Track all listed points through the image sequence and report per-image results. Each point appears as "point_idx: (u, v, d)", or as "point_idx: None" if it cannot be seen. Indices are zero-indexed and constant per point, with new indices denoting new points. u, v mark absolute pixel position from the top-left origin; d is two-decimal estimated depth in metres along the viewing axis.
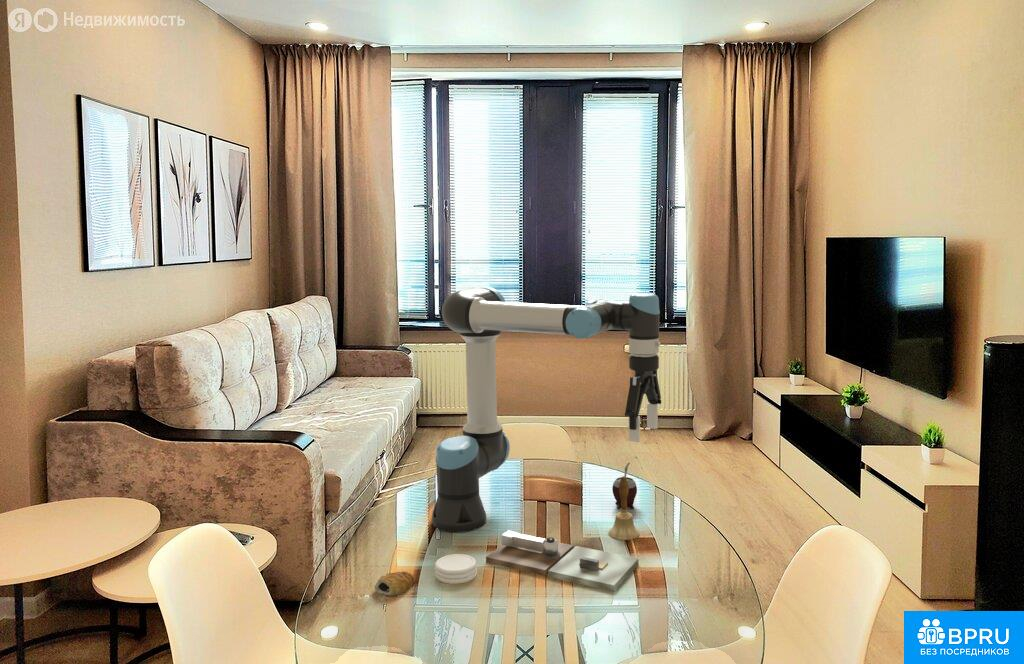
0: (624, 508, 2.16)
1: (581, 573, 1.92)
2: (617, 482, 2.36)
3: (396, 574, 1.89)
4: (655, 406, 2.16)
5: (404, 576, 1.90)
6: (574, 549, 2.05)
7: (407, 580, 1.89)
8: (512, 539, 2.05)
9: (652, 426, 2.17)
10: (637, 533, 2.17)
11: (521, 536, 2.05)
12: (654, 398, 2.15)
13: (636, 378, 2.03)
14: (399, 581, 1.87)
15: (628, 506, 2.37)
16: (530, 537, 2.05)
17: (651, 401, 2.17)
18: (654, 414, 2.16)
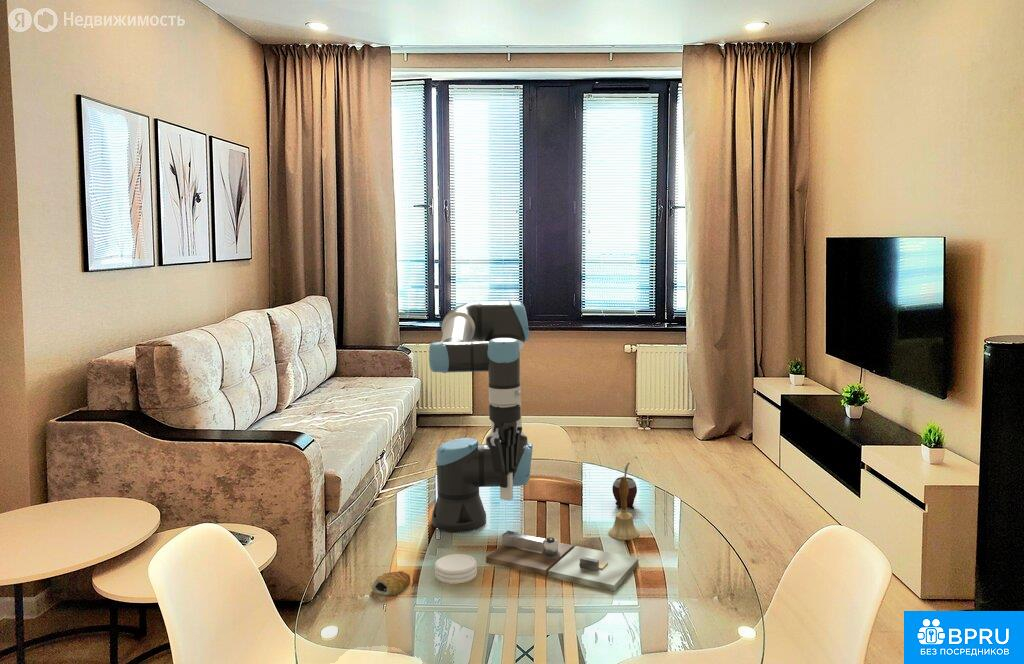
0: (624, 508, 2.16)
1: (581, 573, 1.92)
2: (617, 482, 2.36)
3: (393, 574, 1.90)
4: None
5: (401, 576, 1.90)
6: (574, 549, 2.05)
7: (404, 580, 1.89)
8: (512, 539, 2.05)
9: None
10: (637, 533, 2.17)
11: (521, 536, 2.05)
12: (510, 461, 1.96)
13: (493, 441, 1.89)
14: (396, 581, 1.87)
15: (628, 506, 2.37)
16: (530, 537, 2.05)
17: None
18: None
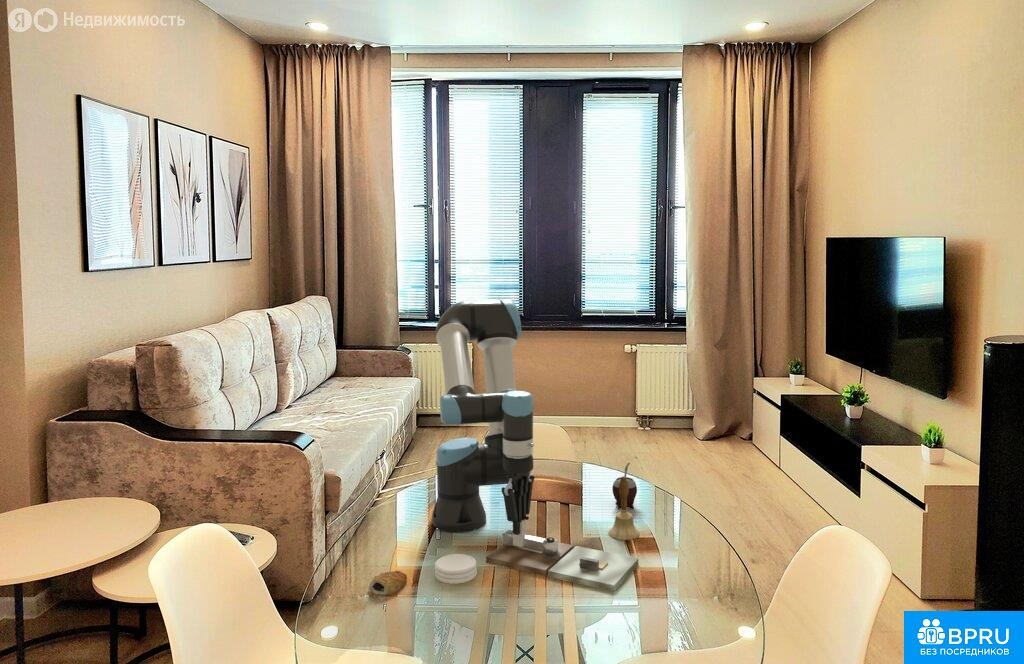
0: (624, 508, 2.16)
1: (581, 573, 1.92)
2: (617, 482, 2.36)
3: (390, 573, 1.90)
4: None
5: (398, 575, 1.90)
6: (574, 549, 2.05)
7: (401, 579, 1.89)
8: (512, 539, 2.06)
9: None
10: (637, 533, 2.17)
11: None
12: (522, 509, 2.03)
13: (507, 491, 1.97)
14: (393, 580, 1.88)
15: (628, 506, 2.37)
16: (530, 537, 2.05)
17: None
18: None
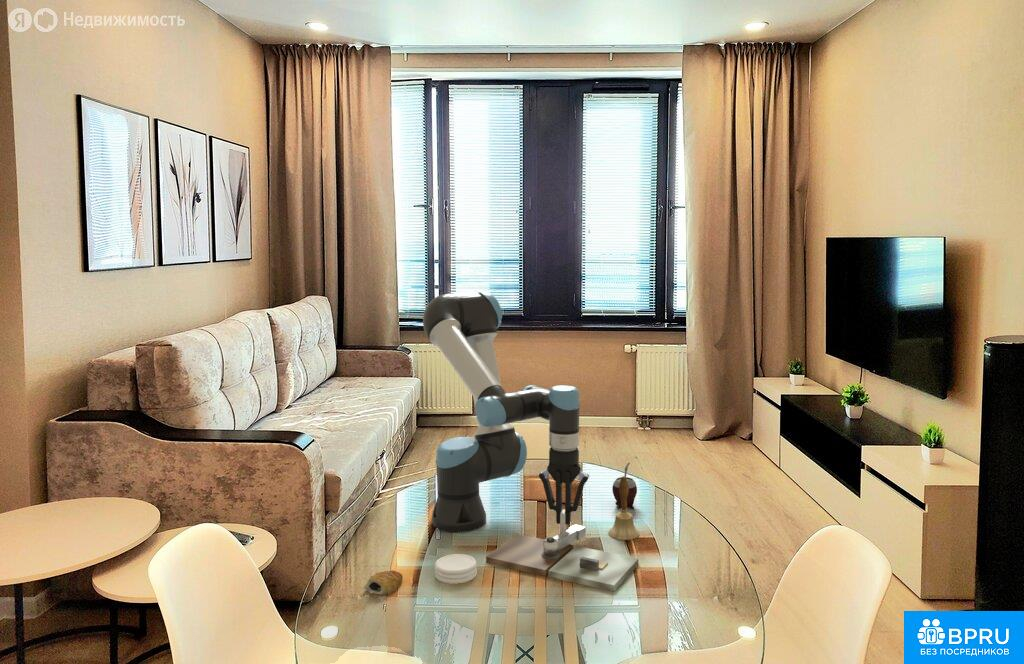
0: (624, 508, 2.16)
1: (581, 573, 1.92)
2: (617, 482, 2.36)
3: (386, 573, 1.90)
4: None
5: (394, 575, 1.91)
6: (574, 549, 2.05)
7: (397, 579, 1.90)
8: None
9: None
10: (637, 533, 2.17)
11: (569, 531, 2.08)
12: None
13: None
14: (390, 580, 1.88)
15: (628, 506, 2.37)
16: (564, 534, 2.06)
17: None
18: None
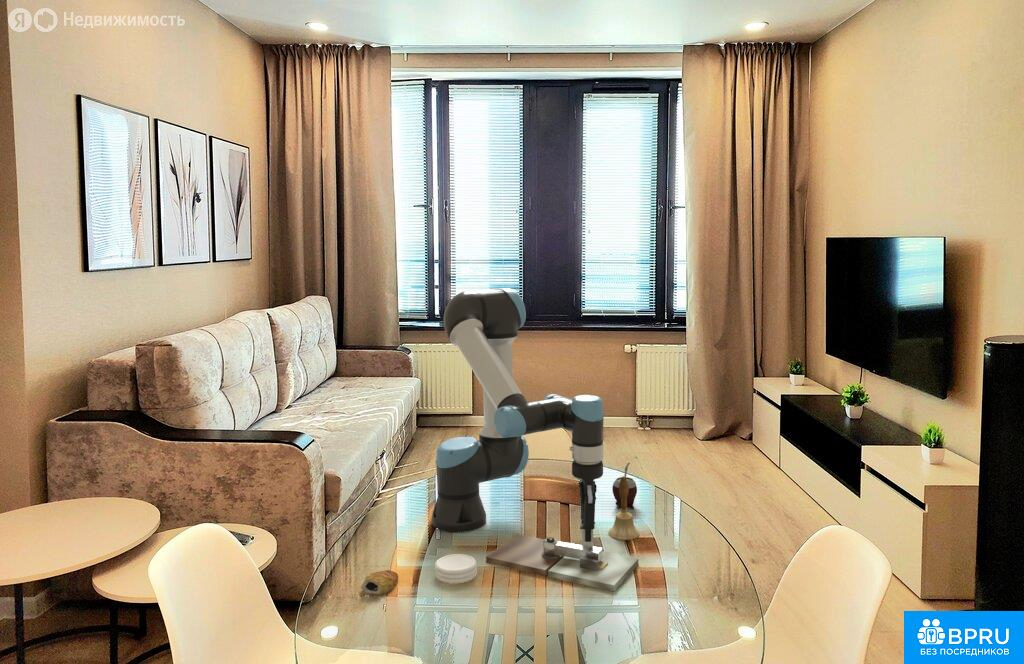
0: (624, 508, 2.16)
1: (581, 573, 1.92)
2: (617, 482, 2.36)
3: (382, 573, 1.90)
4: None
5: (390, 574, 1.91)
6: None
7: (394, 578, 1.90)
8: None
9: None
10: (637, 533, 2.17)
11: (582, 547, 1.98)
12: None
13: None
14: (386, 579, 1.88)
15: (628, 506, 2.37)
16: (571, 546, 1.99)
17: None
18: None
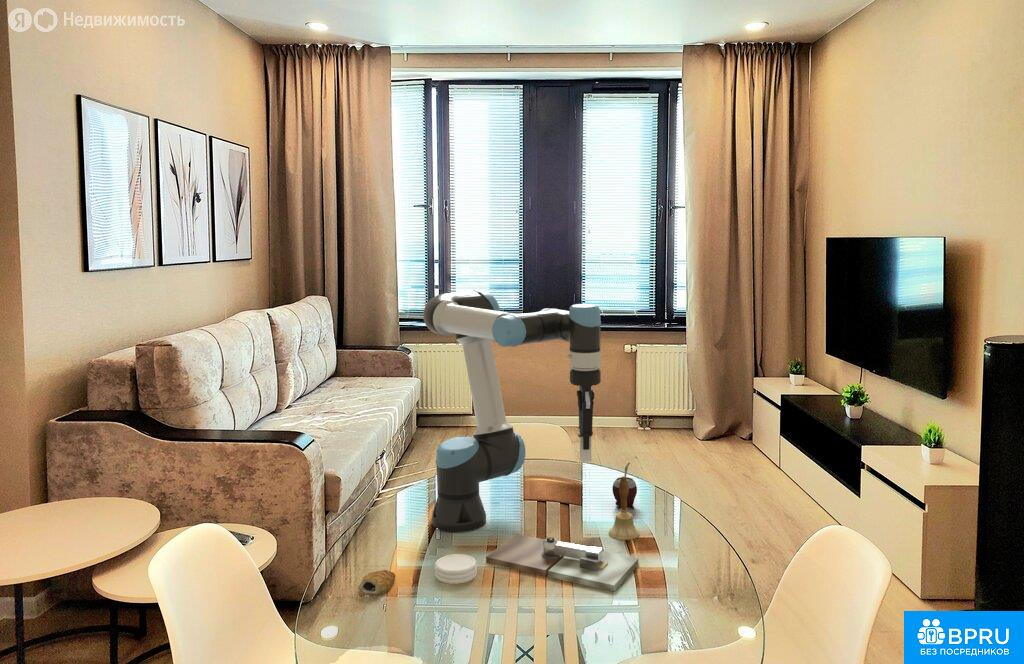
0: (624, 508, 2.16)
1: (581, 573, 1.92)
2: (617, 482, 2.36)
3: (379, 573, 1.90)
4: None
5: (387, 574, 1.91)
6: None
7: (391, 578, 1.90)
8: None
9: None
10: (637, 533, 2.17)
11: (582, 547, 1.98)
12: None
13: None
14: (384, 579, 1.88)
15: (628, 506, 2.37)
16: (571, 546, 1.99)
17: None
18: None
